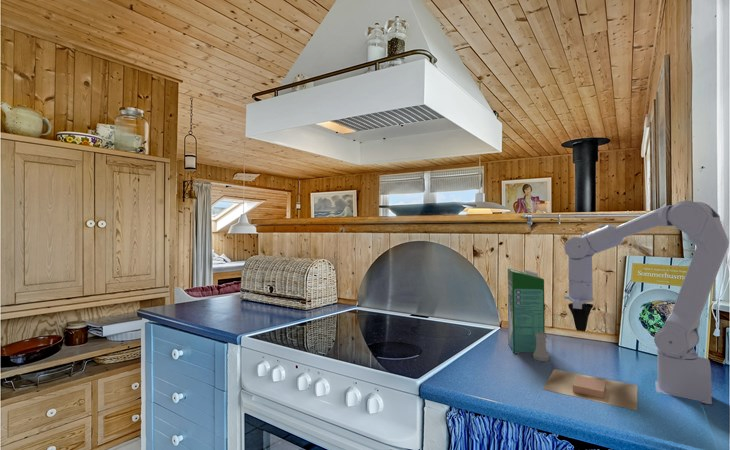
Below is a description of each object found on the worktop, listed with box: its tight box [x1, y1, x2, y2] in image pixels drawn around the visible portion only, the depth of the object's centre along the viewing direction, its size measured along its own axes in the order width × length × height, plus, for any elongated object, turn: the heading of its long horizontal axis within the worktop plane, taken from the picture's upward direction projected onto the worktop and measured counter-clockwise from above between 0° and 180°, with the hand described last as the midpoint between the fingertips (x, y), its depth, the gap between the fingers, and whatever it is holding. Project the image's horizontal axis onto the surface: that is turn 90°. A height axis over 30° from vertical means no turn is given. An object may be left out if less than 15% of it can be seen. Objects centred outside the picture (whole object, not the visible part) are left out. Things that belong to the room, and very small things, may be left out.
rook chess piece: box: [532, 332, 550, 362], centre depth 109 cm, size 4×4×8 cm
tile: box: [573, 375, 606, 398], centre depth 88 cm, size 6×2×7 cm
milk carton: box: [507, 267, 546, 354], centre depth 119 cm, size 9×9×25 cm
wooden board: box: [542, 368, 638, 411], centre depth 89 cm, size 18×15×1 cm
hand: (581, 330), depth 104 cm, fingers closed
